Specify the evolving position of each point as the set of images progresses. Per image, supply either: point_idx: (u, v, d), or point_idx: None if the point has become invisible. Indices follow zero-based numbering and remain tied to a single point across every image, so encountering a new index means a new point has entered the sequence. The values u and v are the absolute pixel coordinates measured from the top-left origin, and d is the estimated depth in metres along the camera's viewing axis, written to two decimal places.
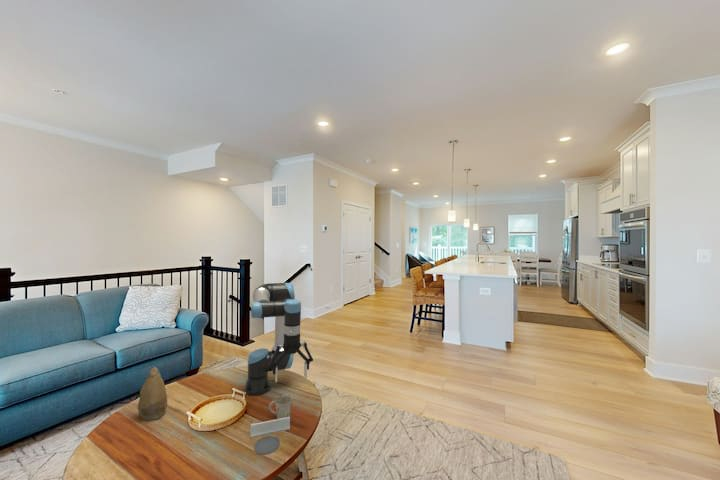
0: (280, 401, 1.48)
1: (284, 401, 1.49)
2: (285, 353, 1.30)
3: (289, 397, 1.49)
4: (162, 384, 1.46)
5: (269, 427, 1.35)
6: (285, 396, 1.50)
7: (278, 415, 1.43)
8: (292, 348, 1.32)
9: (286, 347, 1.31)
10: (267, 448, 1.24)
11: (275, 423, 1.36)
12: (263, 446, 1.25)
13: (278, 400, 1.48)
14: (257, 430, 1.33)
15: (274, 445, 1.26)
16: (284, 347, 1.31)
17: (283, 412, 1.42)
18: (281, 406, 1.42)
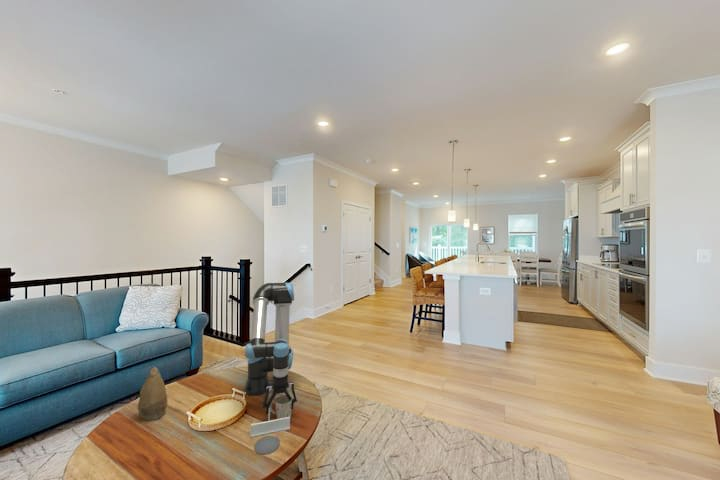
0: (280, 401, 1.48)
1: (284, 401, 1.49)
2: (275, 394, 1.44)
3: None
4: (162, 384, 1.46)
5: (269, 427, 1.35)
6: (285, 396, 1.50)
7: (278, 415, 1.43)
8: (280, 388, 1.45)
9: (275, 387, 1.44)
10: (267, 448, 1.24)
11: (275, 423, 1.36)
12: (263, 446, 1.25)
13: (278, 400, 1.48)
14: (257, 430, 1.33)
15: (274, 445, 1.26)
16: (273, 388, 1.44)
17: (283, 412, 1.42)
18: (281, 406, 1.42)
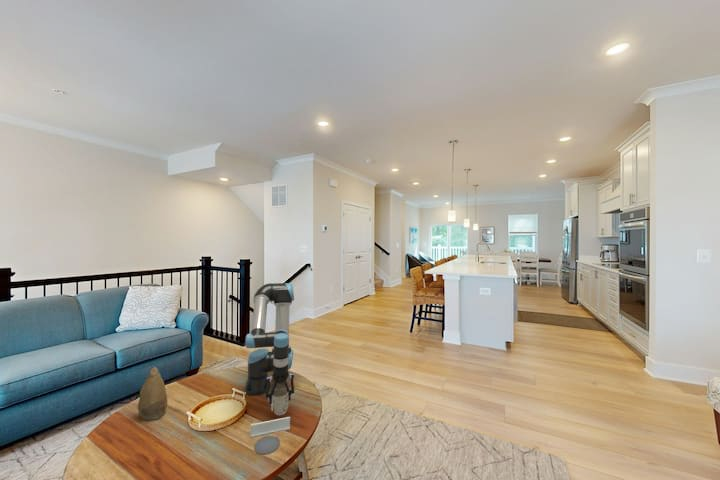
0: (278, 394, 1.49)
1: (282, 395, 1.50)
2: (276, 383, 1.44)
3: (286, 391, 1.49)
4: (162, 384, 1.46)
5: (269, 427, 1.35)
6: (283, 389, 1.50)
7: (274, 408, 1.44)
8: (281, 377, 1.45)
9: (275, 377, 1.44)
10: (267, 448, 1.24)
11: (275, 423, 1.36)
12: (263, 446, 1.25)
13: (276, 393, 1.49)
14: (257, 430, 1.33)
15: (274, 445, 1.26)
16: (273, 378, 1.44)
17: (278, 405, 1.43)
18: (276, 399, 1.42)
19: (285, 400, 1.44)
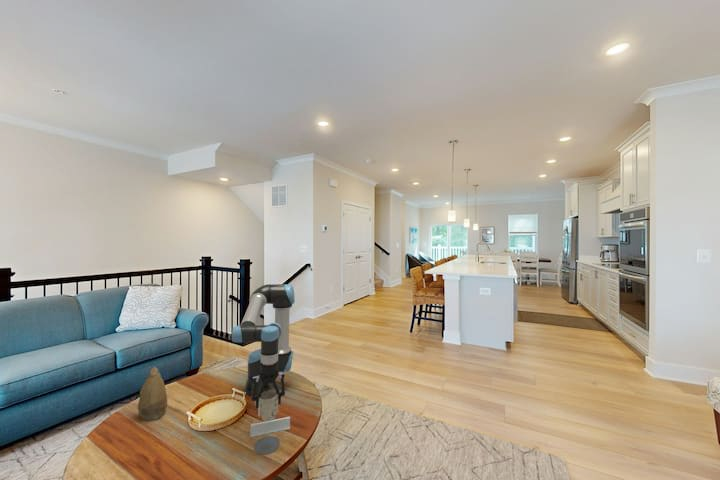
0: (266, 397, 1.29)
1: (271, 397, 1.30)
2: (263, 384, 1.24)
3: None
4: (162, 384, 1.46)
5: (269, 427, 1.35)
6: (272, 391, 1.30)
7: (262, 413, 1.24)
8: (269, 377, 1.26)
9: (263, 376, 1.25)
10: (267, 448, 1.24)
11: (275, 423, 1.36)
12: (263, 446, 1.25)
13: (264, 395, 1.29)
14: (257, 430, 1.33)
15: (274, 445, 1.26)
16: (261, 377, 1.25)
17: (266, 410, 1.23)
18: (263, 402, 1.22)
19: (274, 403, 1.24)
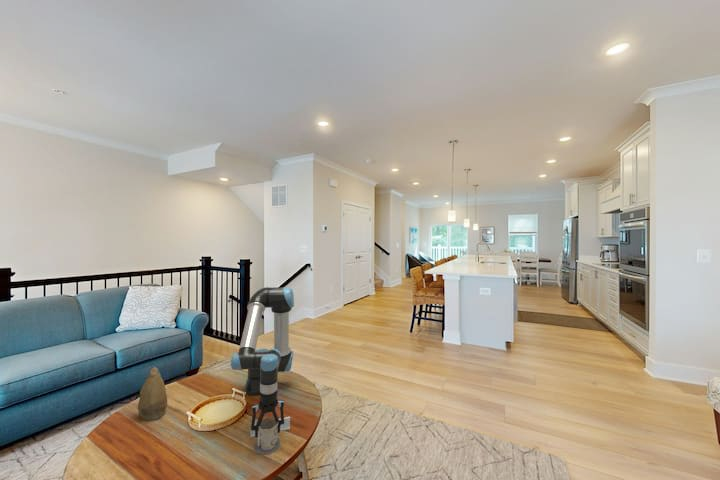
0: (266, 424, 1.29)
1: (271, 425, 1.29)
2: (263, 413, 1.24)
3: None
4: (162, 384, 1.46)
5: None
6: (272, 419, 1.30)
7: (261, 441, 1.24)
8: (268, 406, 1.26)
9: (262, 405, 1.25)
10: None
11: None
12: None
13: (264, 423, 1.28)
14: None
15: None
16: (260, 406, 1.25)
17: (265, 439, 1.22)
18: (263, 432, 1.22)
19: (274, 433, 1.24)
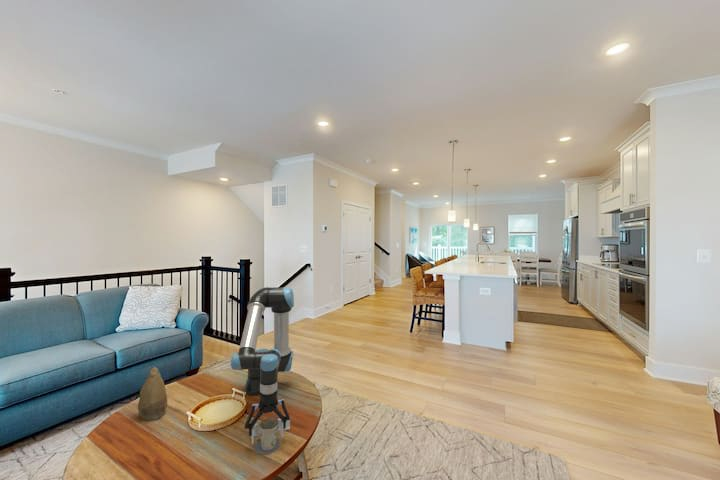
0: (267, 424, 1.29)
1: (271, 425, 1.29)
2: (261, 413, 1.24)
3: (277, 421, 1.29)
4: (162, 384, 1.46)
5: None
6: (273, 419, 1.30)
7: (261, 441, 1.24)
8: (268, 406, 1.26)
9: (262, 406, 1.25)
10: None
11: None
12: None
13: (264, 423, 1.28)
14: (257, 430, 1.33)
15: None
16: (260, 406, 1.25)
17: (266, 439, 1.22)
18: (264, 432, 1.22)
19: (274, 433, 1.24)
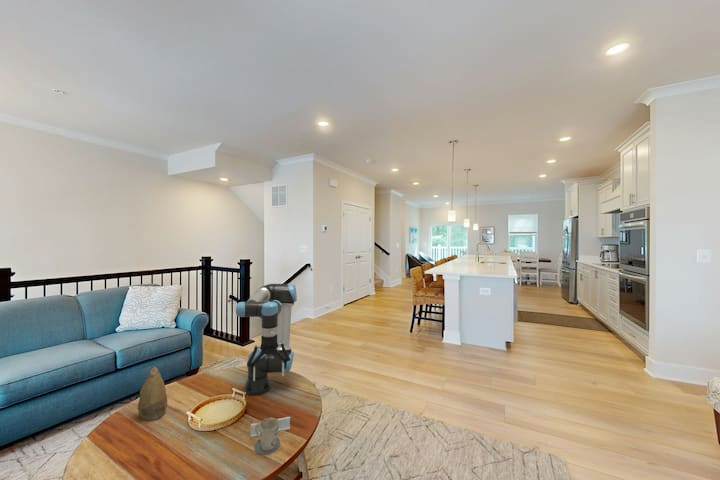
0: (267, 424, 1.29)
1: (271, 425, 1.29)
2: (262, 353, 1.36)
3: (277, 421, 1.29)
4: (162, 384, 1.46)
5: None
6: (273, 419, 1.30)
7: (261, 441, 1.24)
8: (269, 348, 1.38)
9: (263, 348, 1.37)
10: None
11: None
12: None
13: (264, 423, 1.28)
14: (257, 430, 1.33)
15: None
16: (261, 348, 1.36)
17: (266, 439, 1.22)
18: (264, 432, 1.22)
19: (274, 433, 1.24)
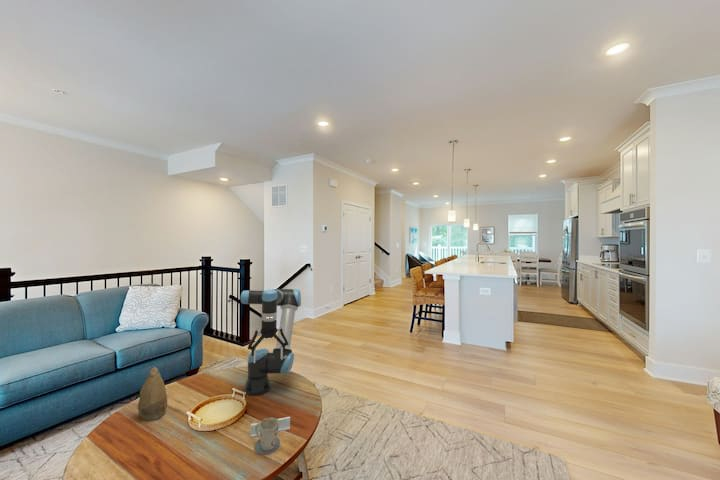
0: (267, 424, 1.29)
1: (271, 425, 1.29)
2: (262, 337, 1.46)
3: (277, 421, 1.29)
4: (162, 384, 1.46)
5: None
6: (273, 419, 1.30)
7: (261, 441, 1.24)
8: (269, 333, 1.48)
9: (263, 332, 1.47)
10: None
11: None
12: None
13: (264, 423, 1.28)
14: (257, 430, 1.33)
15: None
16: (262, 332, 1.46)
17: (266, 439, 1.22)
18: (264, 432, 1.22)
19: (274, 433, 1.24)
